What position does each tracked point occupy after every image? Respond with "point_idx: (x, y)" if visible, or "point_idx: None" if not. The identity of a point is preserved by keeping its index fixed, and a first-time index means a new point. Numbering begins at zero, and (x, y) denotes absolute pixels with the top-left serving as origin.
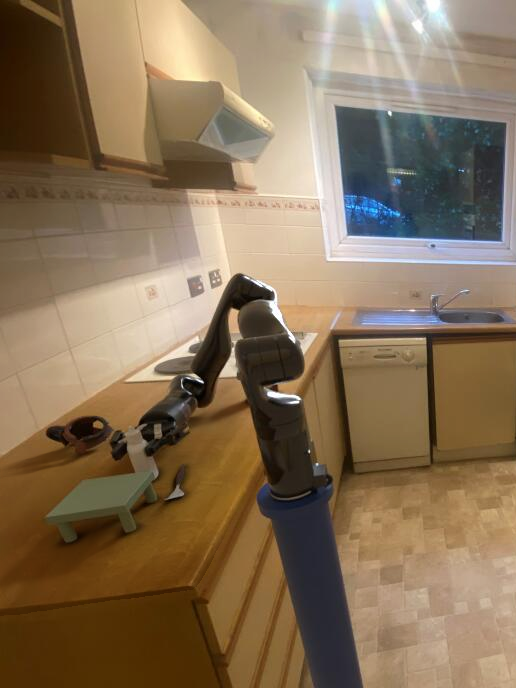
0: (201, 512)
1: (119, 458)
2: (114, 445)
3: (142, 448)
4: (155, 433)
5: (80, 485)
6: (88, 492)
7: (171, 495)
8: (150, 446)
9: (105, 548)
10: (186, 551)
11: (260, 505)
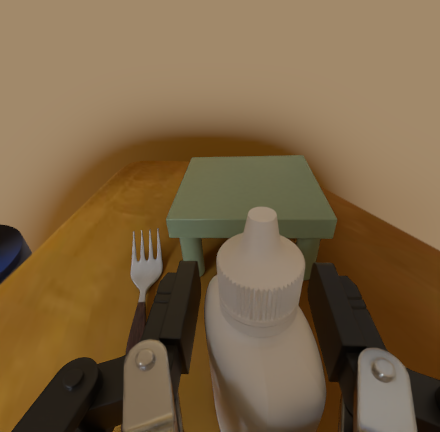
0: (107, 224)
1: (310, 294)
2: (427, 382)
3: (213, 279)
4: (166, 422)
5: (320, 201)
6: (278, 184)
7: (156, 273)
8: (177, 277)
9: None
10: (132, 180)
11: (22, 239)
